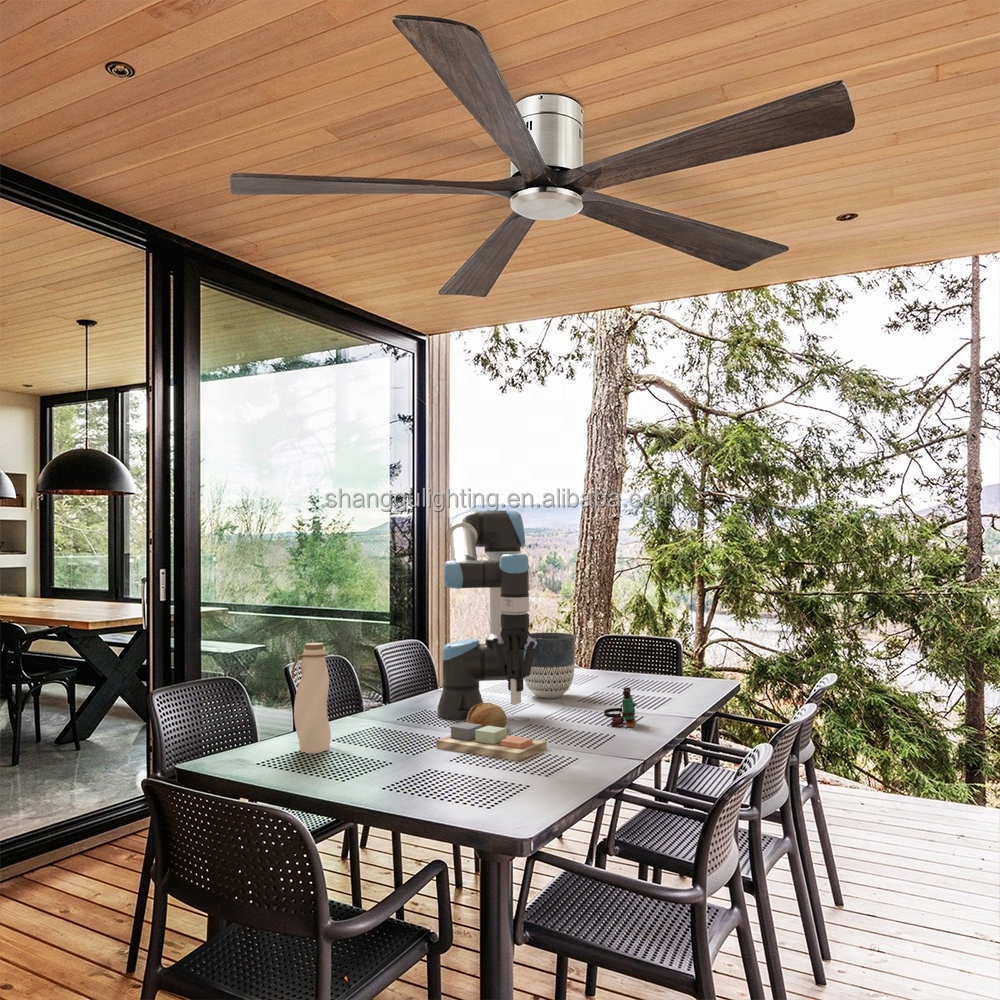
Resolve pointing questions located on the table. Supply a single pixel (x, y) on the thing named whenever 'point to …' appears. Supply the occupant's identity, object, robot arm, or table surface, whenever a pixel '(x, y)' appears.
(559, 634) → the planter
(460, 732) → the charcoal tile
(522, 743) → the terracotta tile
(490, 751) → the board
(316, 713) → the water bottle
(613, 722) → the binoculars
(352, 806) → the table surface
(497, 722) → the bread roll
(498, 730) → the sage tile
